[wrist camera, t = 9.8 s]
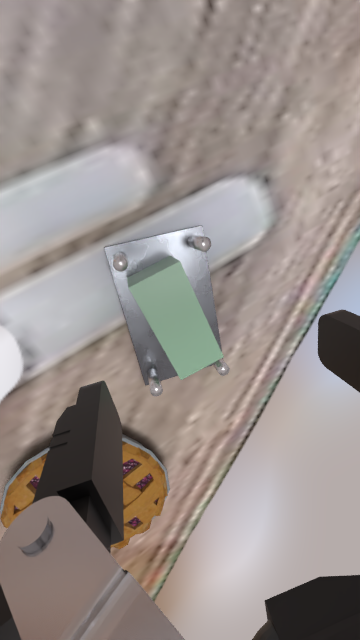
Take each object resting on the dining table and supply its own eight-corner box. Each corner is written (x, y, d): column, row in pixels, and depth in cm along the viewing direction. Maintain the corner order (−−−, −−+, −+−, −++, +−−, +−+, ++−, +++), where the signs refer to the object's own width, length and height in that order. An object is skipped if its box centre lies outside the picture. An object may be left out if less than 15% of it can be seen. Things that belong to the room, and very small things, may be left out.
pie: (191, 469, 43) (200, 498, 38) (91, 547, 44) (88, 585, 39) (95, 391, 34) (91, 417, 30) (-27, 491, 35) (-49, 531, 31)
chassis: (104, 247, 28) (101, 251, 24) (200, 225, 30) (214, 225, 25) (145, 382, 35) (148, 404, 31) (221, 359, 36) (235, 377, 32)
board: (126, 277, 29) (128, 287, 24) (170, 255, 29) (179, 261, 25) (172, 359, 34) (181, 380, 29) (209, 339, 34) (223, 357, 29)
